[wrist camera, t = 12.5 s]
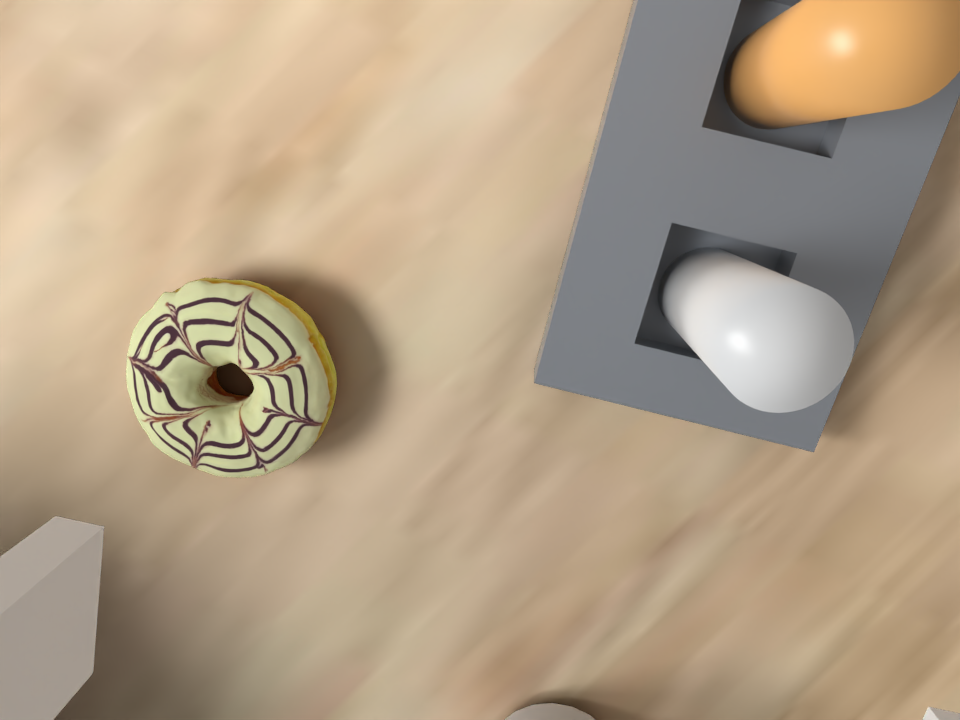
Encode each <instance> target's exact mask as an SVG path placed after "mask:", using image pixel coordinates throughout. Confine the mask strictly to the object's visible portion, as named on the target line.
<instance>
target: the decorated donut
mask: <svg viewBox="0 0 960 720" xmlns="http://www.w3.org/2000/svg"><path fill="white" fill-rule="evenodd" d="M228 363H234V364H236V365H238V366H239V367H240V368H241V369H242V371H243V372H245V373H246V374H247V375H248V377H249V378H250V379H251V380H252V383H253V386H254V391H253V392H252V394H251V395H249V396H244V395H243V396H241V395H234V394H231V393H227V392H226V391H225V390H224V389H222V387H220V385H219V383H218V379H217V376H216V374H217V371H216V370H217V368H218V367H219V366H223V365H225V364H228ZM126 381H127V389H128V393H129V395H130V399H131V402H132V405H133V410H134V412H135V414H136V417H137V419H138V421H139V423H140V425H141V426H142V428H143V430H144V431H145V432H146V433H147V434H148V436H149V438H150V440H151V442H152V443H153V444H154V446H156V447H157V448H158V449H159V450H160V451H162V452H163V453H165V454H166V455H168V456H169V457H171V458H173V459H175V460H177V461H179V462H181V463H184V464H186V465H189V466H191V467H194V468H196V469H198V470H201V471H204V472H206V473H209V474H212V475H215V476H221V477H235V478H241V477H255V476H260V475H265V474H268V473H270V472H273V471H274V470H277V469H280V468H282V467H285V466H287V465H289V464H291V463H293V462H295V461H296V460H297V459H298V458H299V457H300V456H301V455H302V454H304V453H306V452H307V451H308V450H309V449H310V448H311V447H312V445H314V443H316V441H317V440H318V439H319V437H320V436H321V434H322V432H323V431H324V428H325V426H326V424H327V422H328V420H329V418H330V415H331V412H332V409H333V405H334V402H335V396H336V389H337V377H336V371H335V366H334V363H333V361H332V358H331V355H330V353H329V351H328V348H327V346H326V342H325V339H324V337H323V336H322V335H321V333H320V332H319V331H318V329H317V327H316V325H315V323H314V321H313V320H312V318H311V317H310V316H309V315H308V314H307V313H306V312H305V311H304V310H303V309H301V307H299V306H298V305H297V304H296V303H294V302H293V301H291V300H289V299H288V298H286V297H284V296H282V295H280V294H278V293H277V292H275V291H274V290H272V289H270V288H269V287H267V286H264V285H261V284H259V283H255V282H252V281H247V280H242V279H241V280H224V279H217V278H202V279H199V280H196V281H192V282H188V283H186V284H185V285H184V286H183V287H182V288H179V289H177V290H175V291H174V292H165V293H163V294H162V295H161V296H160V298H159V299H158V301H157V302H156V303H155V304H154V306H153V308H152V309H150V310H149V311H147V312H146V314H144V315H143V316H142V317H141V319H140V320H139V322H138V324H137V325H136V327H135V328H134V330H133V333H132V336H131V340H130V346H129V350H128V354H127V364H126Z"/></svg>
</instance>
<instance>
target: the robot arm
mask: <svg viewBox="0 0 960 720" xmlns="http://www.w3.org/2000/svg"><path fill="white" fill-rule="evenodd" d="M103 537H104V526H99V525H95V524H90V523H86V522H81V521H77V520H72V519H67V518H63V517H58V516H55V517H53V518H52V519H51V520H49V521H48V522H47V523H45V524H44V525H42V526H41V527H40V528H38V529H37V530H36V531H34V532H33V533H32V534H30V535H29V536H27V537H26V538H25V539H23V540H22V541H21V542H19V543H18V544H17V545H15V546H14V547H12V548H11V549H10V550H8V551H7V552H6V553H4V554H3V555H2V556H0V720H54V718H55V717H56V716H57V715H58V714H59V713H60V711H61V710H62V709H63V708H64V707H65V706H66V704H67V703H68V702H69V701H70V700H71V698H72V697H73V696H74V695H75V694H76V693H77V691H78V690H79V689H80V688H81V687H82V686H83V684H84V683H85V682H86V681H87V680H88V679H89V677H90V676H91V675H92V674H93V669H94V656H95V642H96V629H97V616H98V603H99V589H100V576H101V563H102V550H103ZM922 720H960V713H955V712H950V711H946V710H941V709H937V708H932V707H928V709H927V711H926V713H925V715H924V717H923V719H922Z"/></svg>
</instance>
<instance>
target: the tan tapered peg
mask: <svg viewBox="0 0 960 720" xmlns="http://www.w3.org/2000/svg"><path fill="white" fill-rule="evenodd" d="M959 71H960V0H802V1H800V2H798V3H797V4H795V5H794V6H792V7H791V8H789V9H788V10H786V11H784V12H783V13H781V14H780V15H778V16H777V17H775V18H774V19H772V20H770V21H769V22H767V23H766V24H764V25H763V26H761V27H760V28H758V29H756V30H755V31H753V32H752V33H750V34H749V35H748V36H746V37H745V38H744V39H743V40H742V41H741V42H740V43H739V44H738V45H737V46H736V48H735V49H734V51H733V52H732V54H731V56H730V58H729V60H728V62H727V65H726V69H725V72H724V85H723V86H724V94H725V98H726V101H727V103H728V105H729V107H730V109H731V111H732V112H733V113H734V114H735V116H736V117H737V118H739V119H740V120H741V121H742V122H744V123H745V124H747V125H749V126H751V127H754V128H758V129H766V130H771V129H779V128H786V127H792V126H798V125H804V124H810V123H816V122H822V121H828V120H835V119H841V118H847V117H853V116H859V115H865V114H871V113H877V112H884V111H890V110H896V109H901V108H905V107H909V106H912V105H915V104H918V103H920V102H922V101H924V100H926V99H928V98H930V97H931V96H933V95H935V94H936V93H938V92H939V91H940V90H941V89H943V88H944V87H945V86H946V85H948V83H949V82H950V81H951V80H952V79H953V78H954V77H955V76H956V75H957V74H958V73H959Z"/></svg>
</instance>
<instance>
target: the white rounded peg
mask: <svg viewBox="0 0 960 720" xmlns="http://www.w3.org/2000/svg"><path fill="white" fill-rule="evenodd" d="M658 300H659V306H660V309H661V311H662V314H663V316H664V317H665V319H666V320H667V321H668V323H669V324H670V325H671V326H672V327H673V328H674V329H675V330H676V332H677V333H678V334H679V335H680V336H681V337H682V338H683V339H684V341H685V342H686V343H687V344H688V345H689V346H690V347H691V348H692V349H693V351H694V352H695V353H696V354H697V355H698V356H699V357H700V358H701V360H702V361H703V362H704V363H705V364H706V365H707V366H708V367H709V369H710V370H711V371H712V372H713V373H714V374H715V375H716V376H717V378H718V379H719V380H720V381H721V382H722V383H723V384H724V385H725V387H726V388H727V389H728V390H729V391H730V392H731V393H732V394H733V395H734V396H735V397H736V398H737V399H738V400H739V401H741V402H743V403H744V404H746V405H748V406H750V407H752V408H754V409H757V410H761V411H765V412H772V413H785V412H792V411H797V410H801V409H804V408H806V407H809V406H811V405H813V404H815V403H817V402H819V401H820V400H822V399H823V398H825V397H826V396H827V395H829V394H830V393H831V392H832V391H833V390H834V389H835V388H836V387H837V385H838V384H839V383H840V382H841V380H842V379H843V377H844V376H845V374H846V372H847V370H848V368H849V366H850V363H851V360H852V356H853V351H854V334H853V329H852V325H851V322H850V320H849V318H848V316H847V314H846V312H845V311H844V309H843V308H842V307H841V306H840V304H839V303H838V302H837V301H835V300H834V299H833V298H832V297H830V296H829V295H827V294H826V293H824V292H822V291H820V290H818V289H816V288H813V287H811V286H808V285H806V284H804V283H801V282H799V281H796V280H794V279H792V278H789V277H787V276H784V275H782V274H779V273H777V272H775V271H772V270H770V269H767V268H765V267H763V266H760V265H758V264H755V263H753V262H751V261H748V260H746V259H743V258H741V257H739V256H736V255H734V254H731V253H729V252H727V251H724V250H721V249H717V248H699V249H694V250H691V251H689V252H687V253H685V254H683V255H681V256H680V257H678V258H677V259H676V260H675V261H673V262H672V263H671V265H670V266H669V267H668V268H667V270H666V271H665V273H664V275H663V277H662V279H661V282H660V286H659V292H658Z"/></svg>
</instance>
